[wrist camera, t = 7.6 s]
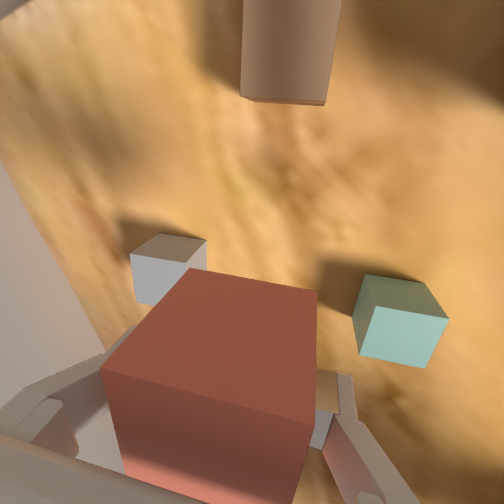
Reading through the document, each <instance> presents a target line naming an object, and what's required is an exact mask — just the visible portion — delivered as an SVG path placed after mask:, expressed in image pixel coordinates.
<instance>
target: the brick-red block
mask: <svg viewBox="0 0 504 504" xmlns="http://www.w3.org/2000/svg"><path fill="white" fill-rule="evenodd" d="M316 333H317V291H312V290H307V289H301V288H296V287H291V286H286V285H280V284H275V283H270V282H264V281H259V280H254V279H248V278H243V277H238V276H232V275H227V274H222V273H216V272H211V271H206V270H200V269H195V268H189V269H188V270H187V271H186V272H185V273H184V275H183V276H182V277H181V278H180V279H179V280H178V281H177V282H176V283H175V285H174V286H173V287H172V288H171V289H170V290H169V291H168V292H167V293H166V294H165V296H164V297H163V298H162V299H161V300H160V301H159V302H158V303H157V304H156V306H155V307H154V308H153V309H152V310H151V311H150V312H149V313H148V314H147V316H146V317H145V318H144V319H143V320H142V321H141V322H140V323H139V324H138V326H137V327H136V328H135V329H134V330H133V331H132V332H131V333H130V334H129V335H128V337H127V338H126V339H125V340H124V341H123V342H122V343H121V344H120V345H119V347H118V348H117V349H116V350H115V351H114V352H113V353H112V354H111V355H110V357H109V358H108V359H107V360H106V361H105V362H104V363H103V364H102V365H101V367H100V372H101V376H102V380H103V384H104V388H105V392H106V396H107V400H108V404H109V408H110V412H111V416H112V420H113V424H114V429H115V433H116V437H117V441H118V444H119V449H120V453H121V457H122V461H123V465H124V469H125V473H126V475H127V476H130V477H133V478H135V479H138V480H141V481H144V482H147V483H150V484H153V485H156V486H159V487H162V488H165V489H168V490H171V491H174V492H177V493H180V494H183V495H186V496H189V497H192V498H195V499H198V500H201V501H204V502H207V503H209V504H292V502H293V498H294V495H295V492H296V488H297V485H298V482H299V478H300V475H301V471H302V468H303V465H304V461H305V458H306V455H307V451H308V448H309V445H310V441H311V438H312V435H313V431H314V428H315V403H316Z"/></svg>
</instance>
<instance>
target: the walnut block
mask: <svg viewBox="0 0 504 504" xmlns="http://www.w3.org/2000/svg"><path fill="white" fill-rule="evenodd" d="M341 3H342V0H243V27H242V54H241V81H240V96H241V97H244V98H247V99H249V100H252V101H254V102H262V103H279V104H297V105H314V106H324V104H325V102H326V98H327V91H328V85H329V79H330V72H331V66H332V60H333V54H334V47H335V41H336V35H337V28H338V22H339V16H340V10H341Z"/></svg>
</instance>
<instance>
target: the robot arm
mask: <svg viewBox="0 0 504 504" xmlns="http://www.w3.org/2000/svg"><path fill="white" fill-rule="evenodd" d="M137 326H138V325H137V324H134V325H132V326H131V327H130V328H129V329H128V330H127V331H126V332H125V333H124V334H123V335H122V336H121V337H120V338H119V339H118V340H117V341H116V342H115V343H114V345H113V346H112V347H111V348H110V349H109V350H108V351H107V352H106V353H105V354H104V355H103V354H99V355H97V356H94V357H92V358H90V359H88V360H86V361H83V362H81V363H79V364H77V365H74V366H72V367H70V368H68V369H65V370H63V371H61V372H59V373H56V374H54V375H52V376H50V377H48V378H45V379H43V380H41V381H39V382H36V383H34V384H32V385H30V386H27V387H25V388H23V389H22V390H21V391H20V392H19V393H18V394H17V395H15V396H14V397H13V398H12V399H11V400H10V401H9V402H8V403H6V404H5V405H4V406H3V407H2V408H1V409H0V504H209V503H207V502H204V501H201V500H198V499H195V498H192V497H189V496H186V495H183V494H180V493H177V492H174V491H171V490H168V489H165V488H162V487H159V486H156V485H153V484H150V483H147V482H144V481H141V480H138V479H135V478H133V477H130V476H127V475H124V474H121V473H118V472H115V471H112V470H109V469H106V468H103V467H100V466H97V465H94V464H91V463H88V462H85V461H82V460H79V459H76V458H75V457H76V455H77V454H78V453H79V446H78V443H77V440H76V438H75V434H76V433H77V432H79V431H80V430H82V429H83V428H85V427H86V426H88V425H89V424H90V423H92V422H93V421H95V420H96V419H97V418H99V417H100V416H102V415H103V414H105V413H106V412H107V411H109V410H110V408H109V404H108V400H107V396H106V392H105V388H104V384H103V380H102V376H101V372H100V367H101V365H102V364H103V363H104V362H105V361H106V360H107V359H108V358H109V357H110V355H111V354H112V353H113V352H114V351H115V350H116V349H117V348H118V347H119V345H120V344H121V343H122V342H123V341H124V340H125V339H126V338H127V337H128V335H129V334H130V333H131V332H132V331H133V330H134V329H135V328H136V327H137ZM309 446H310V447H313V448H317V449H320V450H322V453H323V455H324V457H325V459H326V462H327V464H328V466H329V468H330V471H331V473H332V475H333V477H334V480H335V482H336V484H337V486H338V488H339V491H340V493H341V495H342V497H343V500H344V502H345V504H421V503H420V501H419V500H418V499H417V497H416V496H415V494H414V493H413V492H412V490H411V489H410V487H409V486H408V485H407V483H406V482H405V480H404V479H403V478H402V476H401V475H400V473H399V472H398V470H397V469H396V468H395V466H394V465H393V463H392V462H391V461H390V459H389V458H388V456H387V455H386V454H385V452H384V451H383V449H382V448H381V447H380V445H379V444H378V442H377V441H376V439H375V438H374V437H373V435H372V434H371V432H370V431H369V430H368V428H367V427H366V425H365V424H364V423H363V422H361V421H358V415H357V408H356V401H355V393H354V386H353V378H352V376H351V374H347V373H343V372H339V371H335V370H330V369H326V368H321V367H317V366H316V403H315V428H314V431H313V435H312V438H311V441H310V445H309Z"/></svg>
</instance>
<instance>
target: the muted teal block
mask: <svg viewBox="0 0 504 504" xmlns="http://www.w3.org/2000/svg"><path fill="white" fill-rule="evenodd" d="M352 321H353V326H354V331H355V336H356V341H357V346H358V352H359V355H361V356H366V357H370V358H375V359H380V360H385V361H390V362H395V363H400V364H404V365H409V366H414V367H419V368H424V369H425V367H426V365H427V363H428V361H429V359H430V357H431V355H432V353H433V351H434V349H435V347H436V345H437V343H438V341H439V339H440V337H441V335H442V333H443V331H444V329H445V327H446V325H447V323H448V321H449V318H448V316H447V315H446V313H445V312H444V311H443V309H442V308H441V306H440V305H439V303H438V302H437V301H436V299H435V298H434V296H433V295H432V293H431V292H430V290H429V289H428V288H427V286H426V285H425V283H420V282H414V281H408V280H401V279H395V278H389V277H383V276H376V275H370V274H365V275H364V278H363V282H362V285H361V289H360V292H359V295H358V299H357V302H356V305H355V309H354V312H353V315H352Z"/></svg>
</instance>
